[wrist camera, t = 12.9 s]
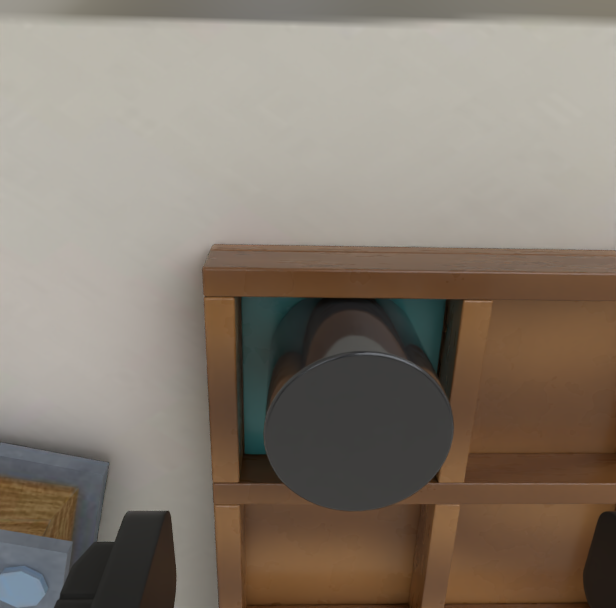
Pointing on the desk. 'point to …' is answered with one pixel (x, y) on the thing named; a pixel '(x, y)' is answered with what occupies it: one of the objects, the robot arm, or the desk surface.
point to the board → (466, 439)
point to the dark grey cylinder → (353, 405)
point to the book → (45, 521)
